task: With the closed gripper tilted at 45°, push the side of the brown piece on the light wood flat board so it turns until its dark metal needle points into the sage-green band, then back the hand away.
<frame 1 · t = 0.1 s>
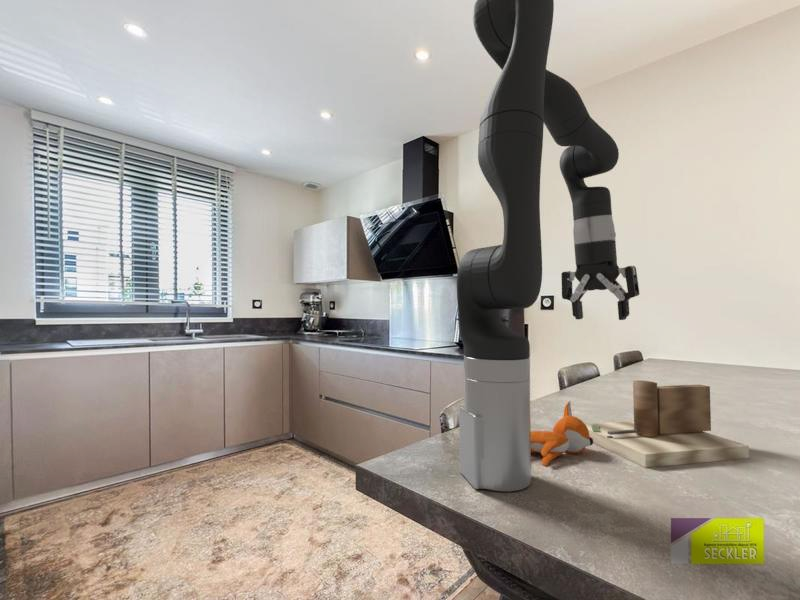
hand: (600, 319, 79), 22 cm above the table, tool pointing down, fingers open, 8 cm apart
light wood flat board: (655, 445, 68), on the table
brown piece: (658, 407, 69), point 7 cm above the table, hinge at 0.0°
toy: (523, 448, 69), on the table
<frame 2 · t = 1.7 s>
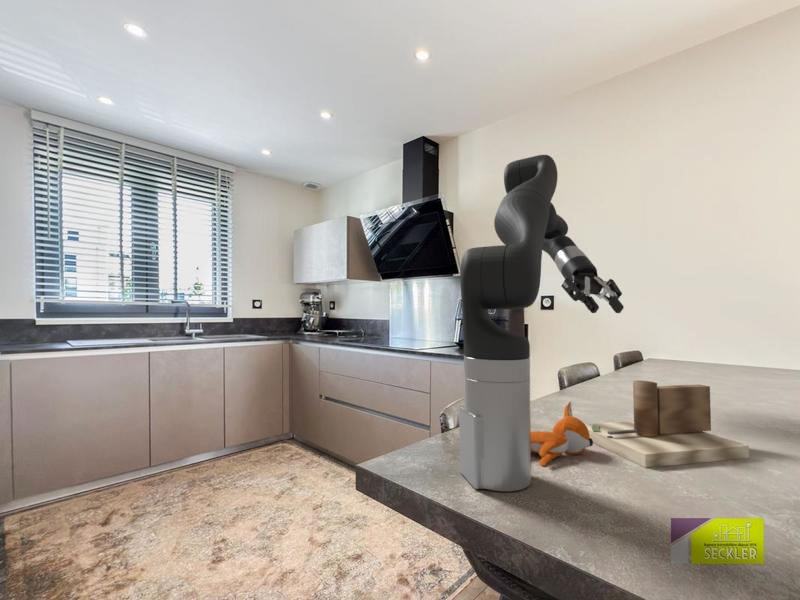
hand: (608, 310, 90), 24 cm above the table, tool tilted 45°, fingers open, 6 cm apart
nothing on the table moved.
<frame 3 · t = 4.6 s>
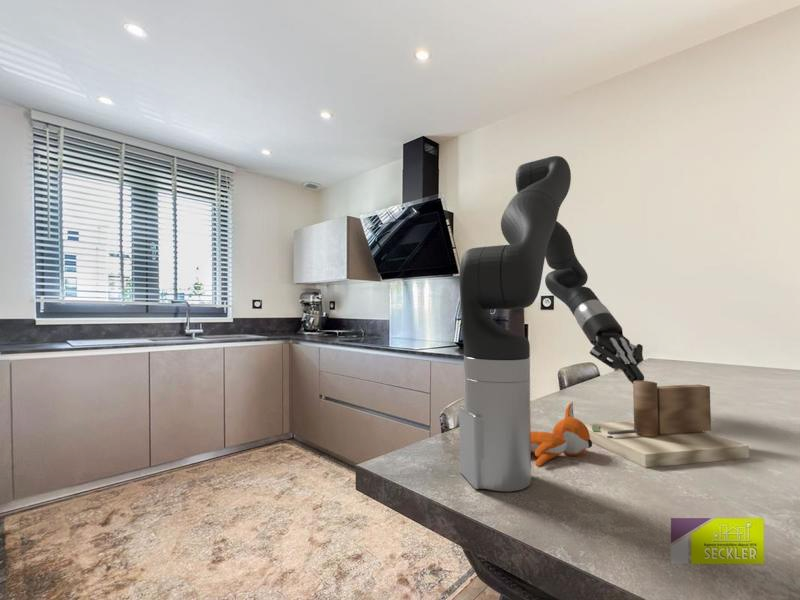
hand: (639, 381, 80), 9 cm above the table, tool tilted 45°, fingers closed
nothing on the table moved.
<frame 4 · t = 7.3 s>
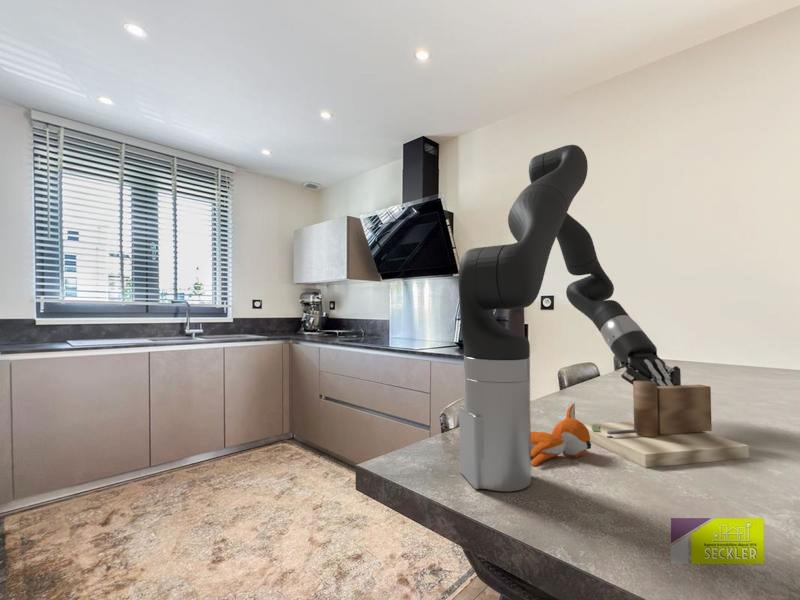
hand: (679, 411, 71), 5 cm above the table, tool tilted 45°, fingers closed
brown piece: (658, 407, 69), point 7 cm above the table, hinge at 0.6°, touching gripper
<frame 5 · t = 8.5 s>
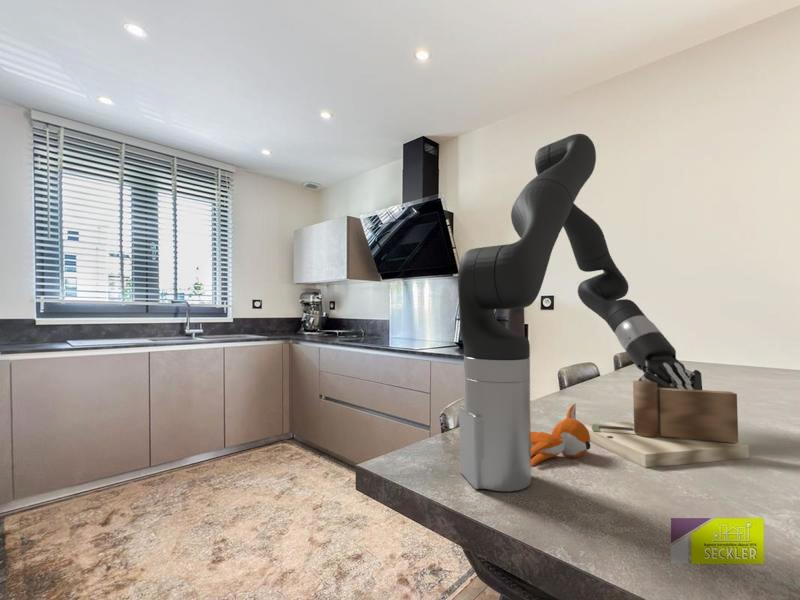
hand: (702, 418, 67), 5 cm above the table, tool tilted 45°, fingers closed
brown piece: (663, 408, 67), point 7 cm above the table, hinge at 29.7°, touching gripper
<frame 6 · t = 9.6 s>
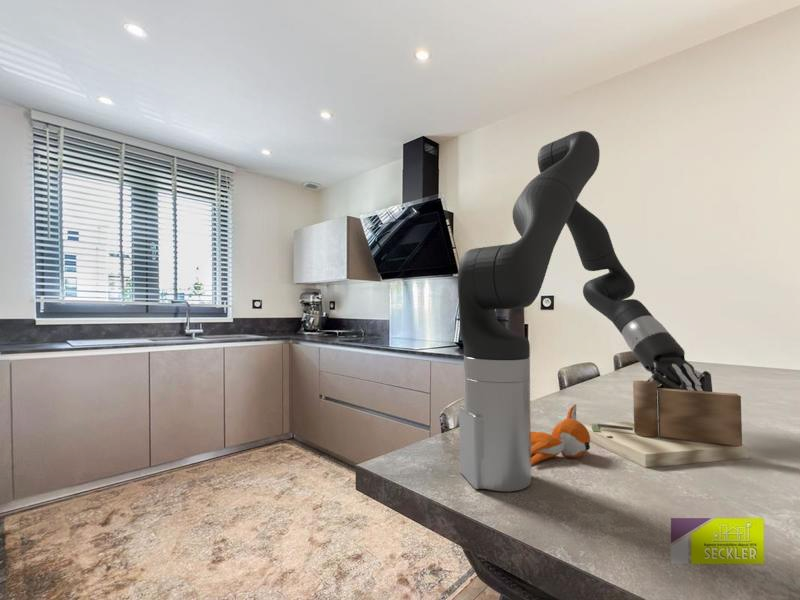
hand: (712, 420, 66), 5 cm above the table, tool tilted 45°, fingers closed
brown piece: (663, 409, 67), point 7 cm above the table, hinge at 37.6°, touching gripper
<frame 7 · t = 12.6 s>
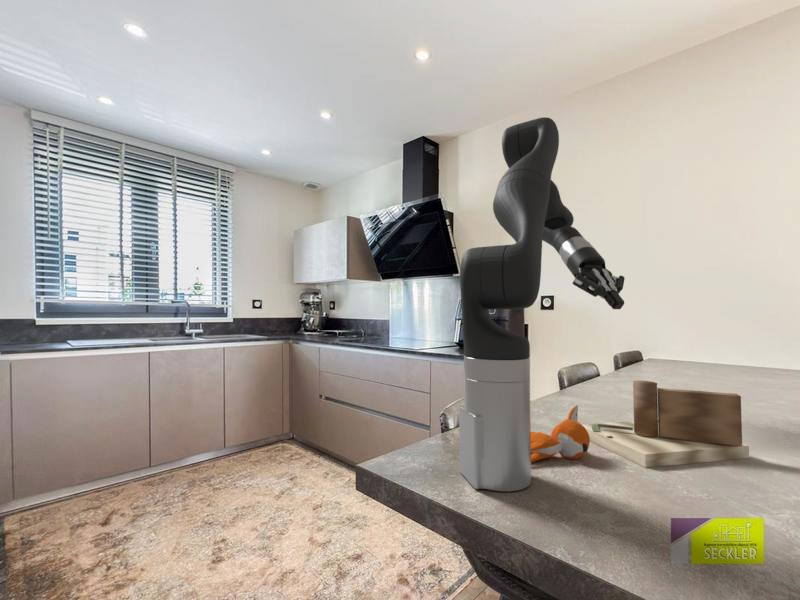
hand: (619, 306, 83), 25 cm above the table, tool tilted 45°, fingers closed
brown piece: (663, 409, 67), point 7 cm above the table, hinge at 37.7°
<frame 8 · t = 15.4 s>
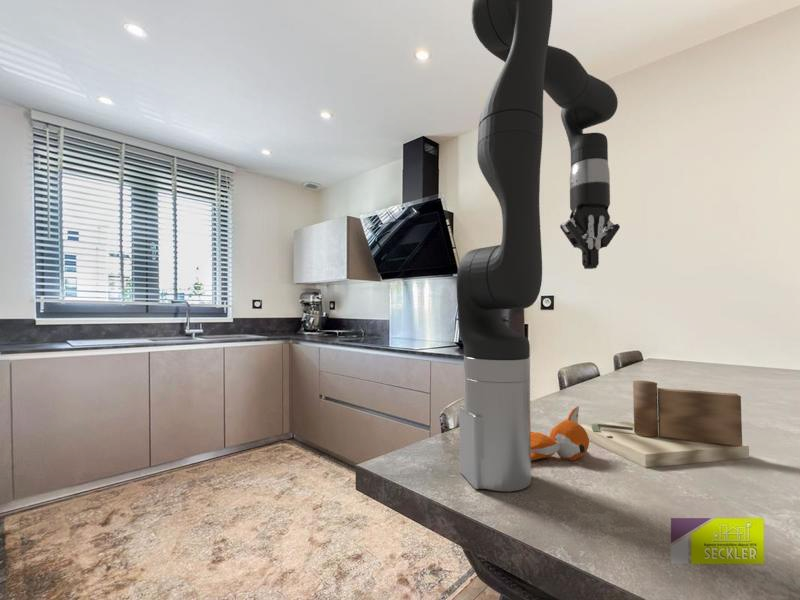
hand: (590, 268, 80), 33 cm above the table, tool pointing down, fingers closed
at the end: brown piece at +38° (first picture: +0°) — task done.
